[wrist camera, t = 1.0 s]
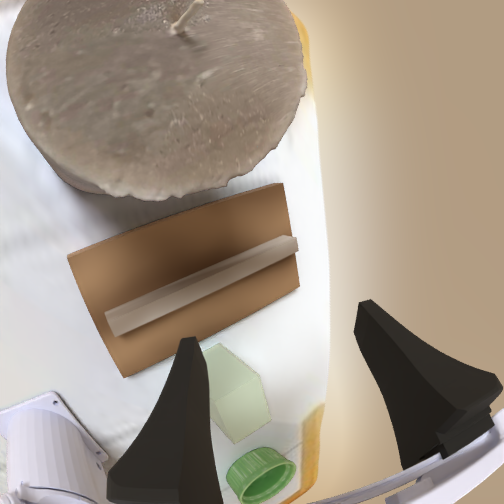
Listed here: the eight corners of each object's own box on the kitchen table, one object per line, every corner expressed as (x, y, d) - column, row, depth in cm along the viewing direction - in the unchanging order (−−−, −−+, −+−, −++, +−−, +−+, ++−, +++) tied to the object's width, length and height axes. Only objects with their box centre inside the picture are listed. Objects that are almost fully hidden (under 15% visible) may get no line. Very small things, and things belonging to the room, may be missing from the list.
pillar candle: (53, 63, 13) (72, -102, 1) (178, 70, 19) (328, -32, 7) (39, 200, 15) (-41, 221, 3) (171, 193, 21) (336, 205, 9)
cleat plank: (291, 283, 29) (312, 291, 27) (120, 370, 20) (129, 390, 18) (274, 183, 26) (296, 183, 24) (67, 254, 17) (67, 264, 15)
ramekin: (270, 433, 33) (292, 451, 29) (280, 461, 36) (299, 478, 32) (213, 469, 28) (232, 492, 25) (232, 493, 31) (249, 512, 28)
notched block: (234, 387, 28) (271, 420, 23) (201, 406, 26) (234, 444, 21) (219, 342, 26) (259, 375, 21) (180, 363, 24) (214, 402, 19)
